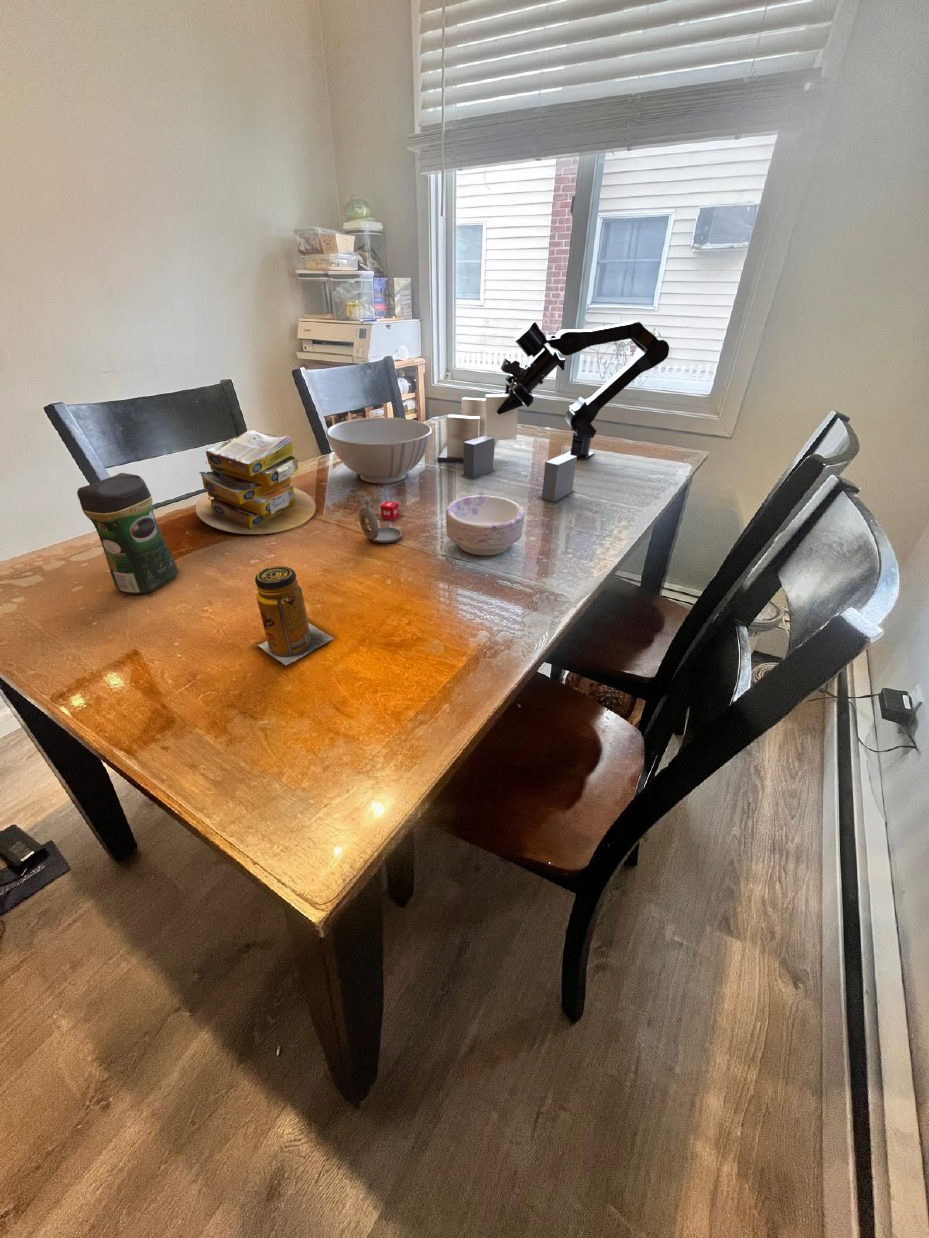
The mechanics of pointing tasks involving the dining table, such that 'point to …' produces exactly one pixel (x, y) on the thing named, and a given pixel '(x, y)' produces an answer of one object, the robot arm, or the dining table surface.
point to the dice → (389, 510)
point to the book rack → (464, 429)
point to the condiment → (285, 616)
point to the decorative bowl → (380, 446)
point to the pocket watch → (376, 526)
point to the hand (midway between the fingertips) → (497, 411)
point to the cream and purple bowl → (484, 524)
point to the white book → (499, 419)
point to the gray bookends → (555, 473)
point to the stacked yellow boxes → (253, 486)
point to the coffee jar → (128, 533)
